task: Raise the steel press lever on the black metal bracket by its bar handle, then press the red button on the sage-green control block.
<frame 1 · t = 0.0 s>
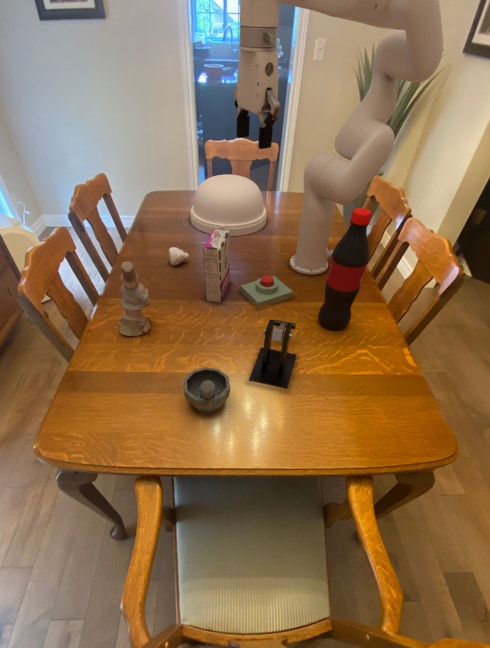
hand: (253, 142, 85), 37 cm above the table, tool pointing down, fingers open, 9 cm apart
mortar and pestle: (208, 408, 80), on the table
control block: (265, 294, 109), on the table
candy bar box: (217, 292, 109), on the table
lever: (281, 329, 84), point 9 cm above the table, hinge at -25.0°
figurine: (137, 328, 97), on the table
dome cover: (228, 219, 144), on the table
button: (267, 281, 105), point 4 cm above the table, slide at 0.1 cm
cola bottle: (331, 325, 100), on the table
bracket: (273, 370, 88), on the table
garlic bulb: (180, 263, 120), on the table
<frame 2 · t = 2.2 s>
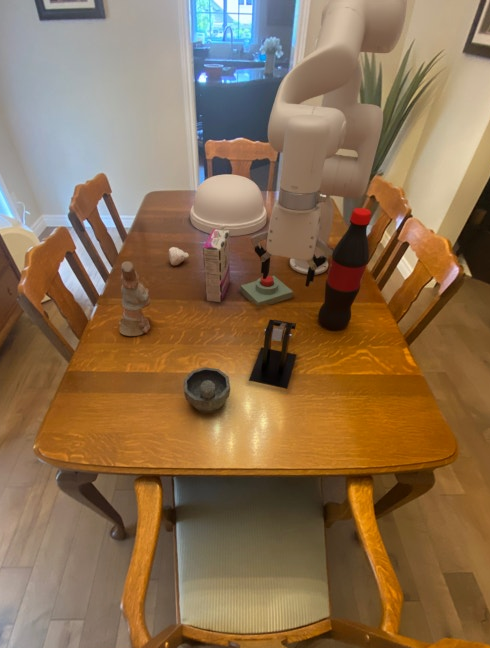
hand: (286, 279, 82), 17 cm above the table, tool pointing down, fingers open, 9 cm apart
nothing on the table moved.
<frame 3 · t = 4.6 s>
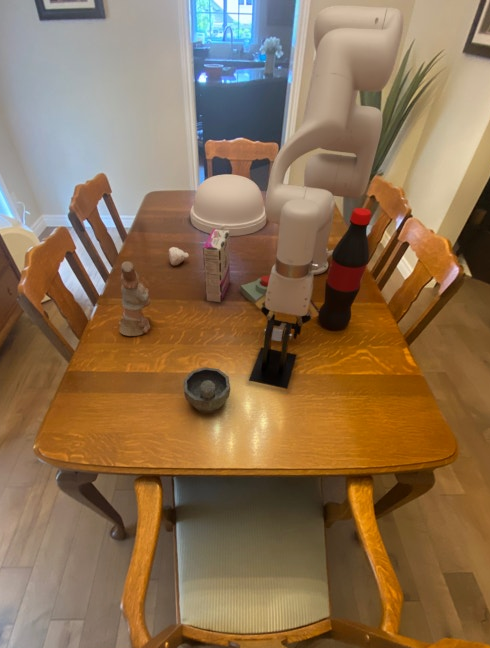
hand: (283, 332, 91), 4 cm above the table, tool pointing down, fingers closed on lever, 5 cm apart
lever: (281, 329, 84), point 9 cm above the table, hinge at -25.0°, touching gripper
everything else where it was.
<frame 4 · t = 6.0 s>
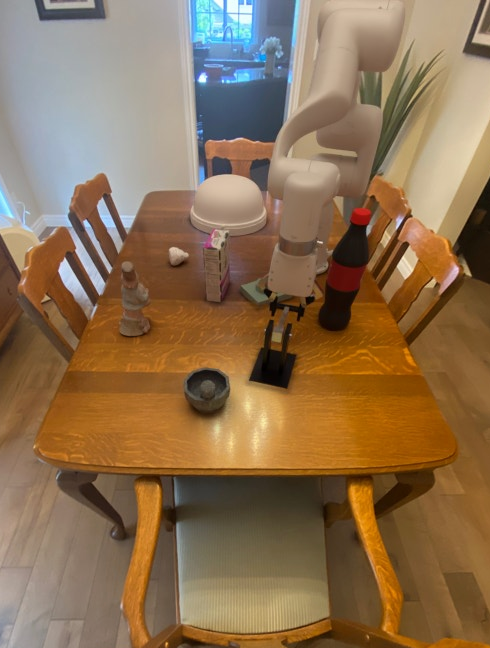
hand: (286, 315, 88), 8 cm above the table, tool pointing down, fingers closed on lever, 5 cm apart
lever: (282, 321, 83), point 11 cm above the table, hinge at -2.3°, touching gripper
everything else where it was.
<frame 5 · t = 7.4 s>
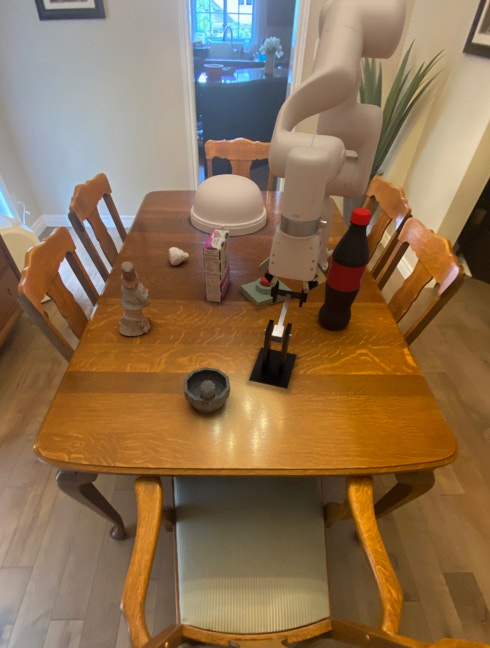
hand: (288, 301, 85), 13 cm above the table, tool pointing down, fingers closed on lever, 5 cm apart
lever: (283, 314, 81), point 13 cm above the table, hinge at 19.2°, touching gripper
everything else where it was.
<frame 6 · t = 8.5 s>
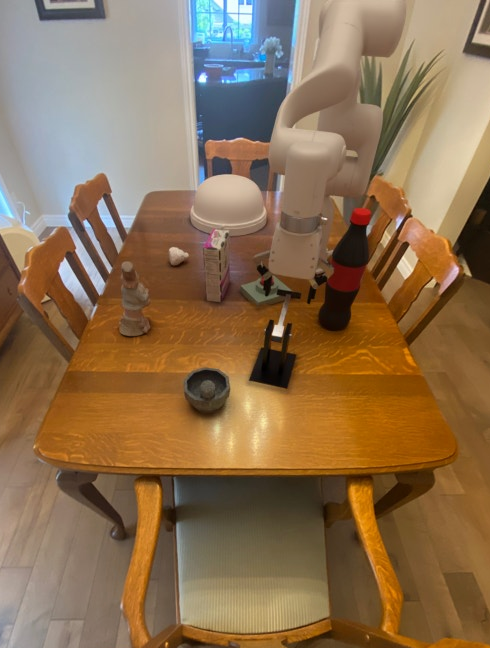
hand: (288, 297, 83), 14 cm above the table, tool pointing down, fingers open, 9 cm apart
lever: (283, 314, 81), point 13 cm above the table, hinge at 19.0°
everything else where it was.
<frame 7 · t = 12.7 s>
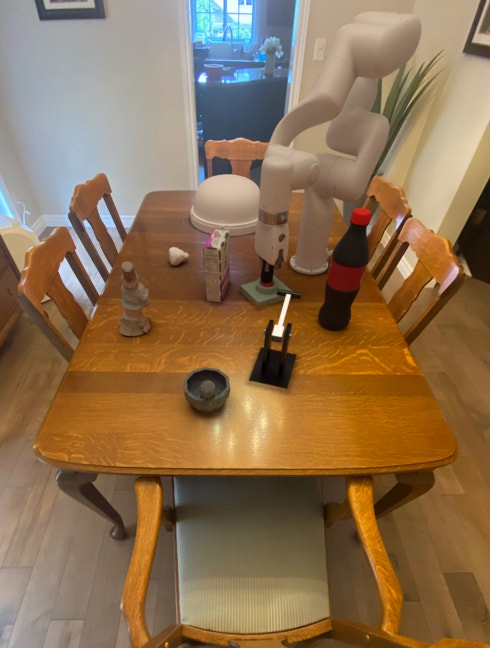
hand: (266, 281, 105), 5 cm above the table, tool pointing down, fingers closed
button: (266, 283, 106), point 4 cm above the table, slide at -0.6 cm, touching gripper
everything else where it was.
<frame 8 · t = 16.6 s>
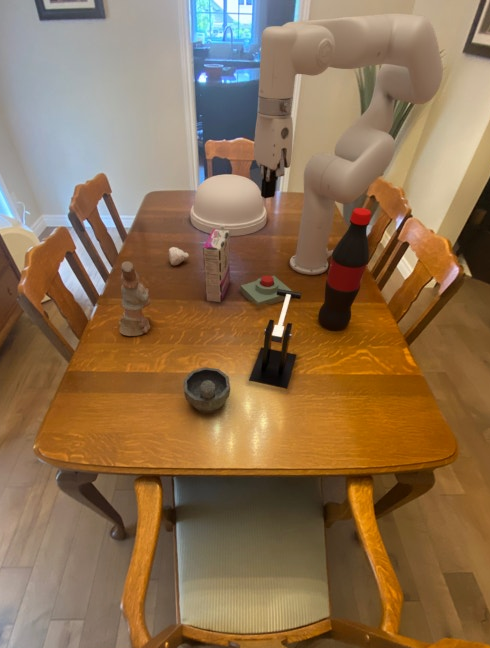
hand: (267, 196, 94), 25 cm above the table, tool pointing down, fingers closed
button: (267, 281, 105), point 4 cm above the table, slide at 0.1 cm
everything else where it was.
at the end: lever at +19° (first picture: -25°); button pushed in 1.1 cm at the most during the clip, back to where it started at the end; button slide at 0.1 cm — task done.
